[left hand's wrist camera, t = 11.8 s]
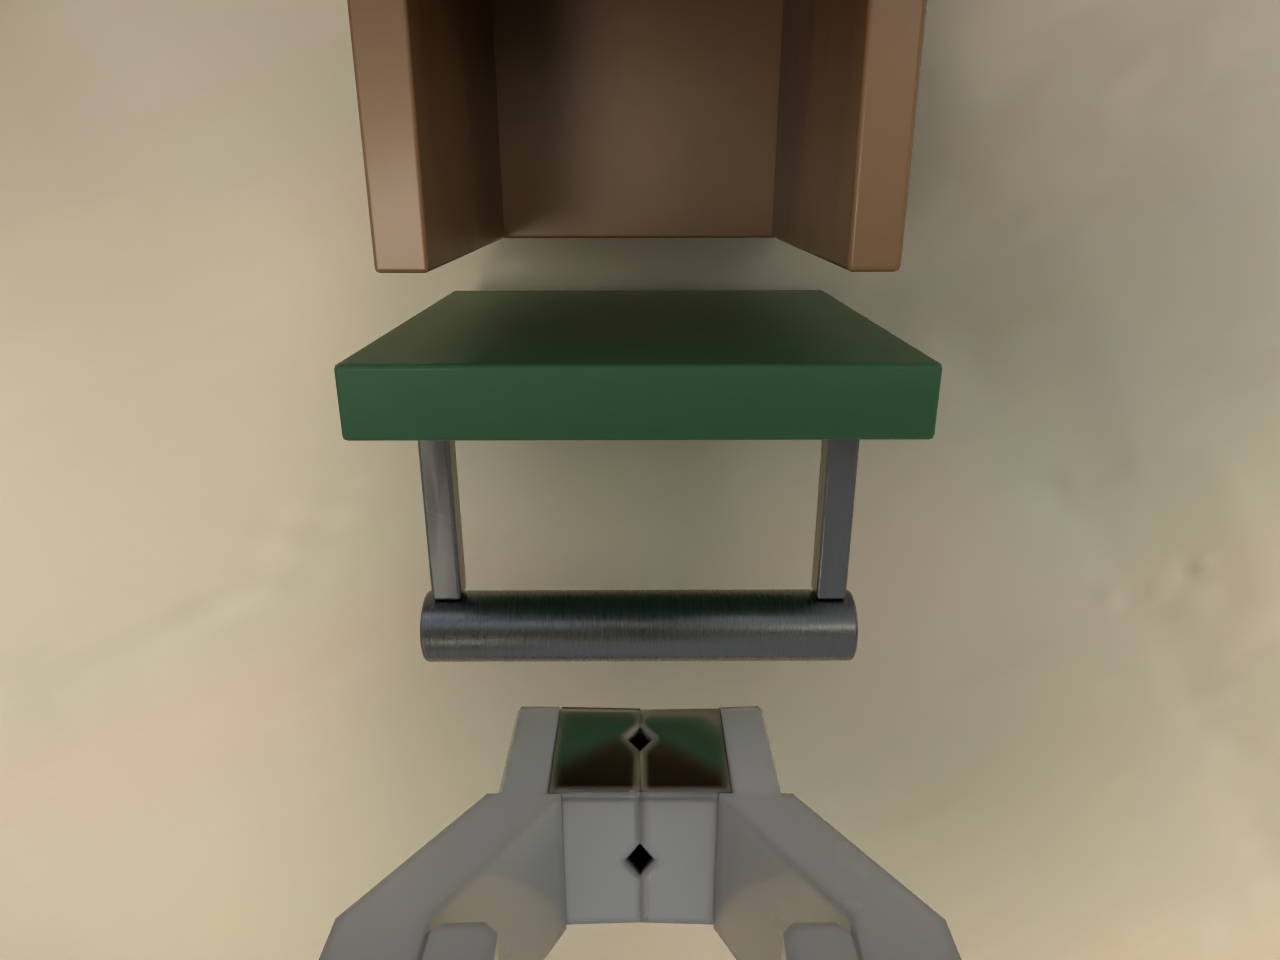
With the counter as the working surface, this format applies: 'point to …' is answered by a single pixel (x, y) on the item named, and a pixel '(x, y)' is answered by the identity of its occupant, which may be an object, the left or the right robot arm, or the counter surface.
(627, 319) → the drawer
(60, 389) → the counter surface
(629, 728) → the left robot arm
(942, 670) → the counter surface
